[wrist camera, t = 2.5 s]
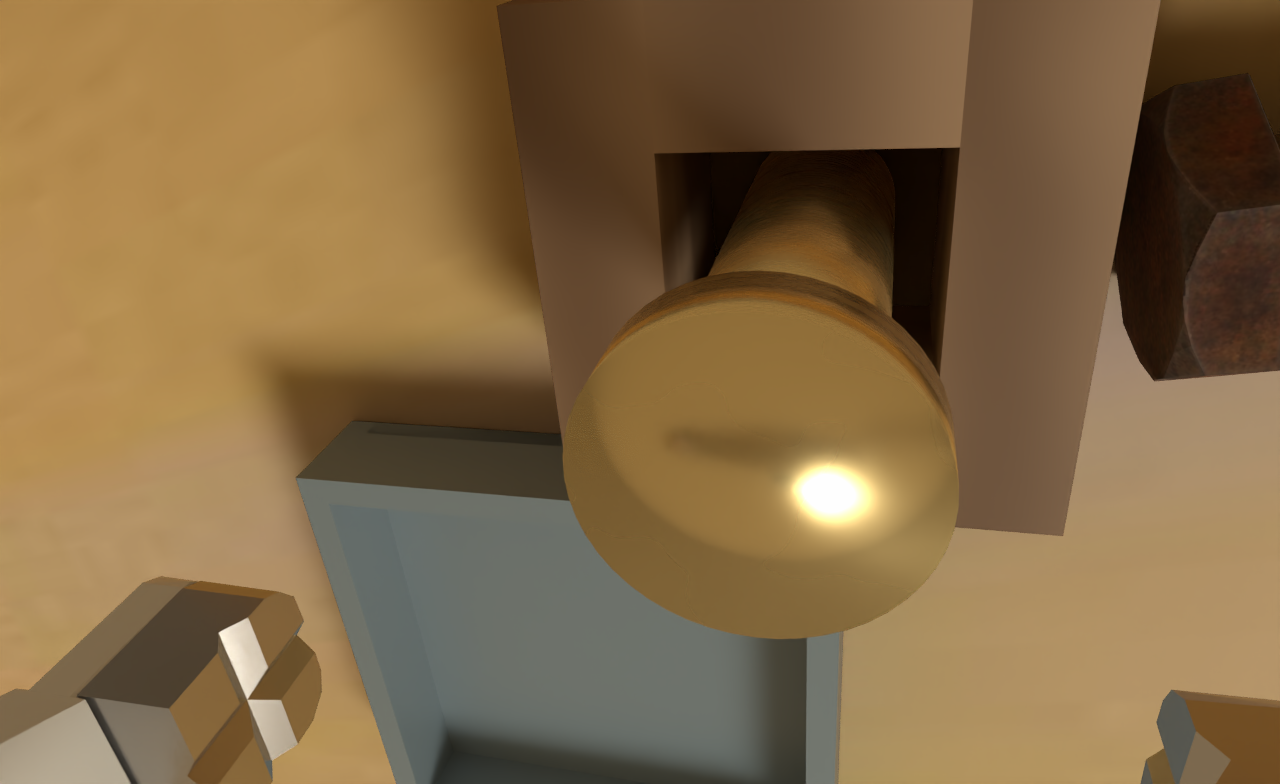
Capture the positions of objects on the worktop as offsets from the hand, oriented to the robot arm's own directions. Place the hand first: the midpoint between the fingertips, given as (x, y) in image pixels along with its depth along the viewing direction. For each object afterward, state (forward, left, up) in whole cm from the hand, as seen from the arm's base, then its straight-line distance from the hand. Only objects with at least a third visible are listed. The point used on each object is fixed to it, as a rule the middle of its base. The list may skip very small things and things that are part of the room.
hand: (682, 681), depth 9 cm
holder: (0, 0, -14) cm, 14 cm away
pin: (0, 0, -14) cm, 14 cm away
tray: (+6, +14, -14) cm, 21 cm away
